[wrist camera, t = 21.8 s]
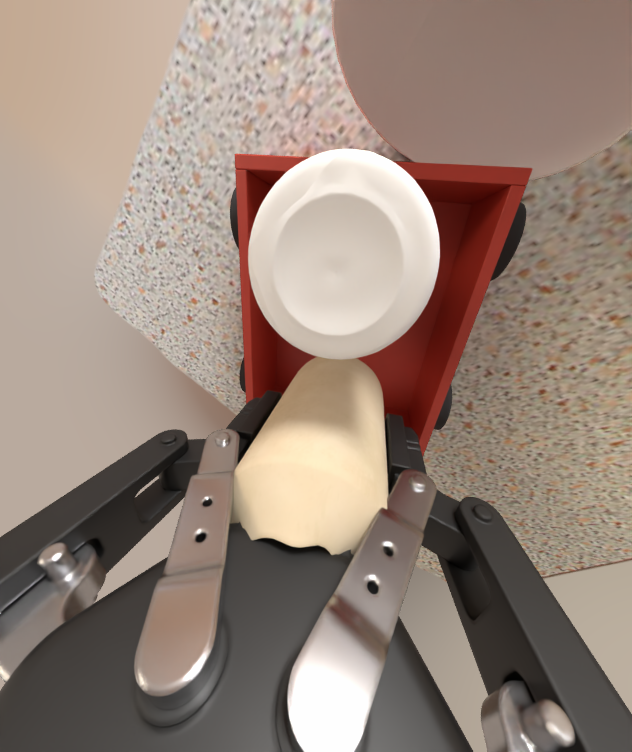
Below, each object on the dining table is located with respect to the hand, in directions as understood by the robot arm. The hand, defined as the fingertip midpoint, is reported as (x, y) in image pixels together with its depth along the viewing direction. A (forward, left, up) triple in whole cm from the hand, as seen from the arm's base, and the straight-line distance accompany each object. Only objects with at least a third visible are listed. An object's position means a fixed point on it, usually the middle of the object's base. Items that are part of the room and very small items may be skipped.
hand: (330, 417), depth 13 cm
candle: (0, 0, -3) cm, 3 cm away
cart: (-3, 0, -9) cm, 10 cm away
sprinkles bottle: (-7, 0, -9) cm, 12 cm away
